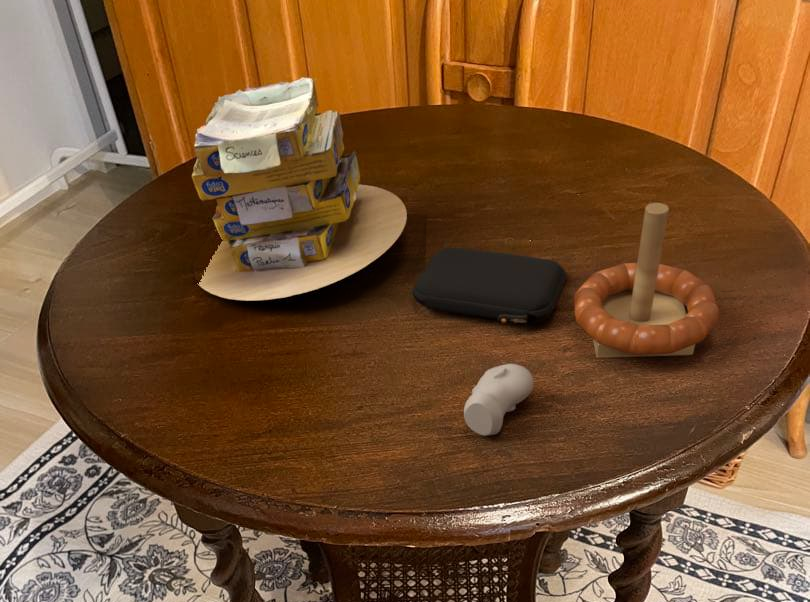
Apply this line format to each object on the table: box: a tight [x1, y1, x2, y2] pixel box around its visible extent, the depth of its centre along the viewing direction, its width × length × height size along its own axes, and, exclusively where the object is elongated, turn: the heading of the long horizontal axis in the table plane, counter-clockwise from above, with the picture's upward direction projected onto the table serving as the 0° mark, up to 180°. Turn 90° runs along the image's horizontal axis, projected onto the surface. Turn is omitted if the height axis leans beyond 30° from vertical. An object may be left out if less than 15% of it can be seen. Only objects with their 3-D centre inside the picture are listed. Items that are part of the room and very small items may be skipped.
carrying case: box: [412, 246, 568, 325], centre depth 88 cm, size 11×3×15 cm
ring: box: [573, 262, 720, 354], centre depth 82 cm, size 13×13×3 cm
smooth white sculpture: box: [463, 363, 534, 436], centre depth 76 cm, size 4×8×5 cm
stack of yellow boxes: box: [191, 77, 408, 302], centre depth 92 cm, size 25×25×17 cm
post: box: [592, 202, 696, 359], centre depth 80 cm, size 9×9×12 cm
